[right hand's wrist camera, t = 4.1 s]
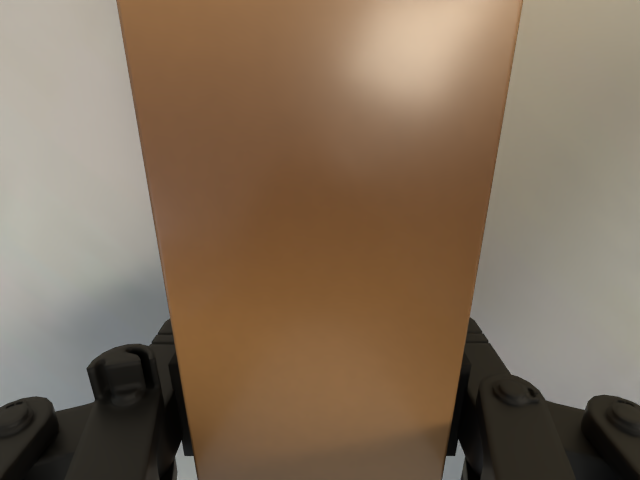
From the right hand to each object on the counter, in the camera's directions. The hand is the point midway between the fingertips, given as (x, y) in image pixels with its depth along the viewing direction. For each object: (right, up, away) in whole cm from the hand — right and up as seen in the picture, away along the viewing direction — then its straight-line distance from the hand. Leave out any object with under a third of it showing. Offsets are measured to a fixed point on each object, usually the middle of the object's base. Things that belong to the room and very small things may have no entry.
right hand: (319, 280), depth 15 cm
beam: (0, +22, -8) cm, 24 cm away
